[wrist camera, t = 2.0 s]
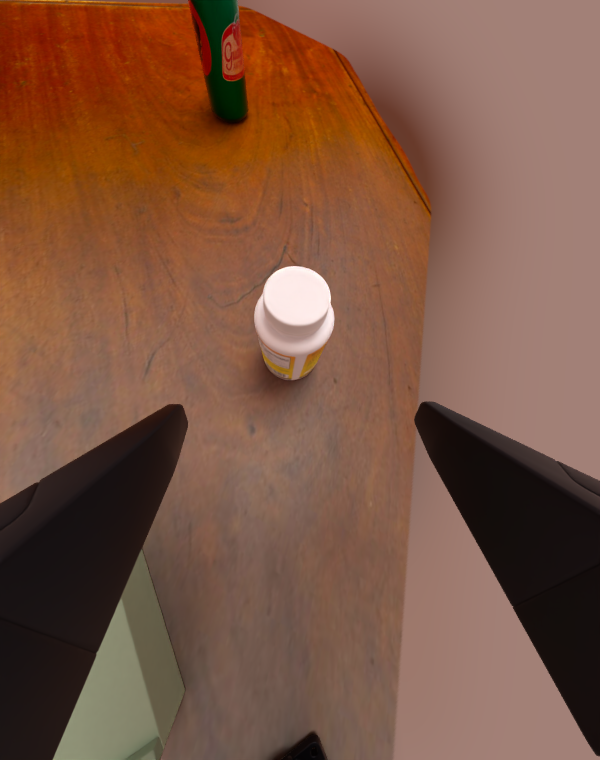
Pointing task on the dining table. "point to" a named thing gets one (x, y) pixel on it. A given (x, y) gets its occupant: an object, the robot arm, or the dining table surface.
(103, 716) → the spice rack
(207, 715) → the dining table surface
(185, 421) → the robot arm
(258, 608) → the dining table surface
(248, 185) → the dining table surface
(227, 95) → the soda can
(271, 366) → the supplement bottle
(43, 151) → the dining table surface
